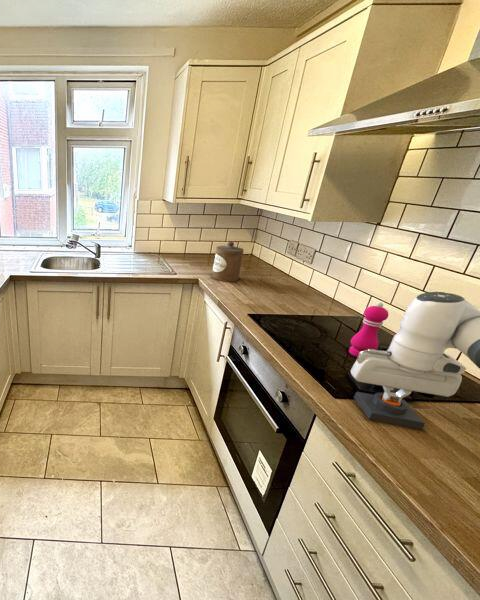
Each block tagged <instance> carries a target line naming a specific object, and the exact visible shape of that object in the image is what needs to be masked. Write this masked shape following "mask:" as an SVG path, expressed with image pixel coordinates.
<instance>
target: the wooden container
mask: <svg viewBox="0 0 480 600" xmlns="http://www.w3.org/2000/svg"><path fill="white" fill-rule="evenodd" d="M234 245H235V242H233V241H228V242H227V245H219V246H216V249H215V255H214V261H213V265H212V272H211V277H212V278H213V279H215V280H217V281H220V282H221V281H222V282H236V281H238V280H239V277H240V272H241V267H242V262H243V256H244V248H242V247H239V246H234Z"/></svg>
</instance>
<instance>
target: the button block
mask: <svg viewBox="0 0 480 600" xmlns="http://www.w3.org/2000/svg"><path fill="white" fill-rule="evenodd" d="M383 394H384V393H376V394H375V395H373V394H367V393H361V392H358V391H356V392H355V393H354V396H353V399H354V401H355V402H356V403H357V405H358V406H359V407H360V410H362V412H363V413H364V414H365V416H366V418H367V419H368V420H370V421H376V422H380V423H387V424H391V425H397V426H401V427H406V428H410V429H411V428H412V429H417V430H423V429H424V427H425V425H426V421H425V420H424V419H423V418H422V417H421V416H420V415H419V414H418V413H417V412H416V410H414V408H412V406H411V405H410V404H409V402H408V401H405V400H402V399H401V401H400V402H401V404H400V406H393V405H390V404H388V403H386V402H384V401H383V400H382V397H383Z"/></svg>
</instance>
